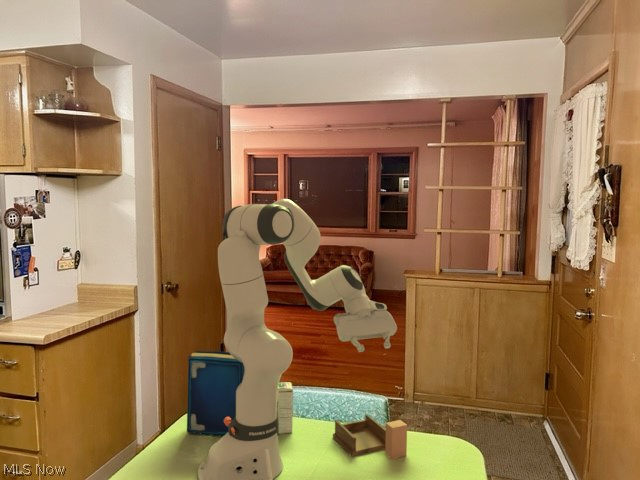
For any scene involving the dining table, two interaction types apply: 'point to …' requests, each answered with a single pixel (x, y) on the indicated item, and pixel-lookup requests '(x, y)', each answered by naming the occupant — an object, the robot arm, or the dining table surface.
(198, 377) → the book
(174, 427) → the dining table surface
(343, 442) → the walnut slot rack
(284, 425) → the syrup box
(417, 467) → the dining table surface
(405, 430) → the terracotta block
